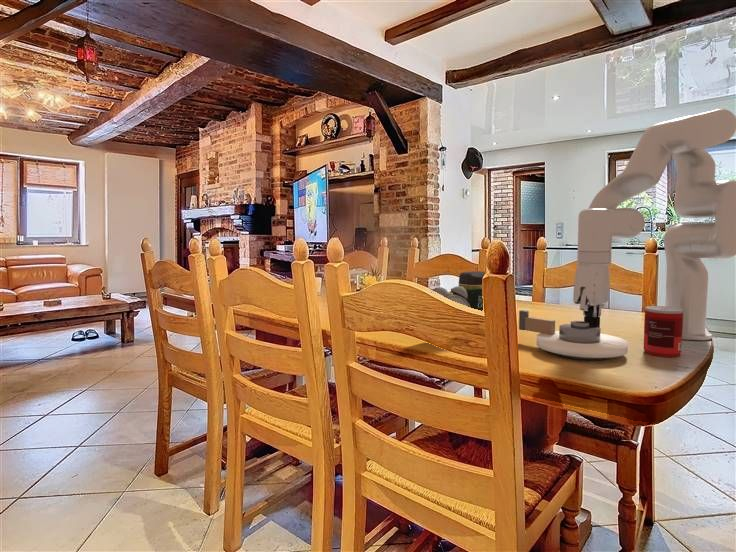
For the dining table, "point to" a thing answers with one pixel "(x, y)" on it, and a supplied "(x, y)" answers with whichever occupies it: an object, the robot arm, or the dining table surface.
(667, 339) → the canned food
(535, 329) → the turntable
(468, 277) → the coffee jar
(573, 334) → the cover
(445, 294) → the alarm clock
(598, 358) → the stand
